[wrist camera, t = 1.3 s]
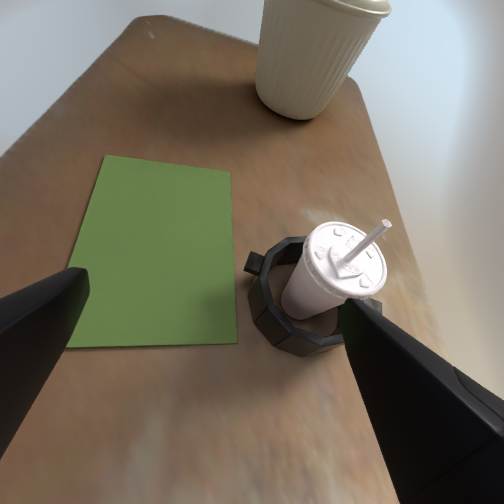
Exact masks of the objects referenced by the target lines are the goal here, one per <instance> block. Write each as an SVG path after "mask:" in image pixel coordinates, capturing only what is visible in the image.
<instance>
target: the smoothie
mask: <svg viewBox="0 0 504 504" xmlns="http://www.w3.org/2000/svg"><path fill="white" fill-rule="evenodd" d="M390 227H391V223H390V222H389V221H387V220H383V221H382V222H381V223H380V224H379V225H377V226H376V227H375V228H374V229H373V230H372V231H371V232H370V233H369V234H368V235H366V234H365V233H364V232H362V231H361V230H359V229H357V228H356V227H354V226H351V225H349V224H346V223H341V222H326V223H323V224H321V225H319V226H317V227H316V228H315V229H314V230H313V231H312V232H311V233H310V234H309V236H308V237H307V238H306V240H305V242H304V245H303V254H302V256H301V258H300V260H299V262H298V264H297V266H296V268H295V269H294V271H293V273H292V275H291V277H290V279H289V281H288V283H287V285H286V287H285V289H284V291H283V293H282V295H281V304H282V307H283V309H284V311H285V312H286V313H287V314H288V315H289V316H291V317H292V318H294V319H298V320H303V319H306V318H309V317H311V316H314V315H316V314H319V313H321V312H324V311H326V310H329V309H331V308H334V307H336V306H339V305H341V304H344V302H345V300H346V299H347V298H358V299H360V300H364V299H367V298H369V297H370V296H372V295H373V294H374V293H376V292H377V291H379V290H380V289H381V288H382V286H383V285H384V283H385V280H386V276H387V268H386V263H385V259H384V257H383V255H382V253H381V251H380V249H379V248H378V246H377V245H376V244H375V243H374V241H375V240H376V239H377V238H378V237H379V236H381V235H382V234H383V233H384V232H385V231H386V230H387V229H389V228H390Z"/></svg>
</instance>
